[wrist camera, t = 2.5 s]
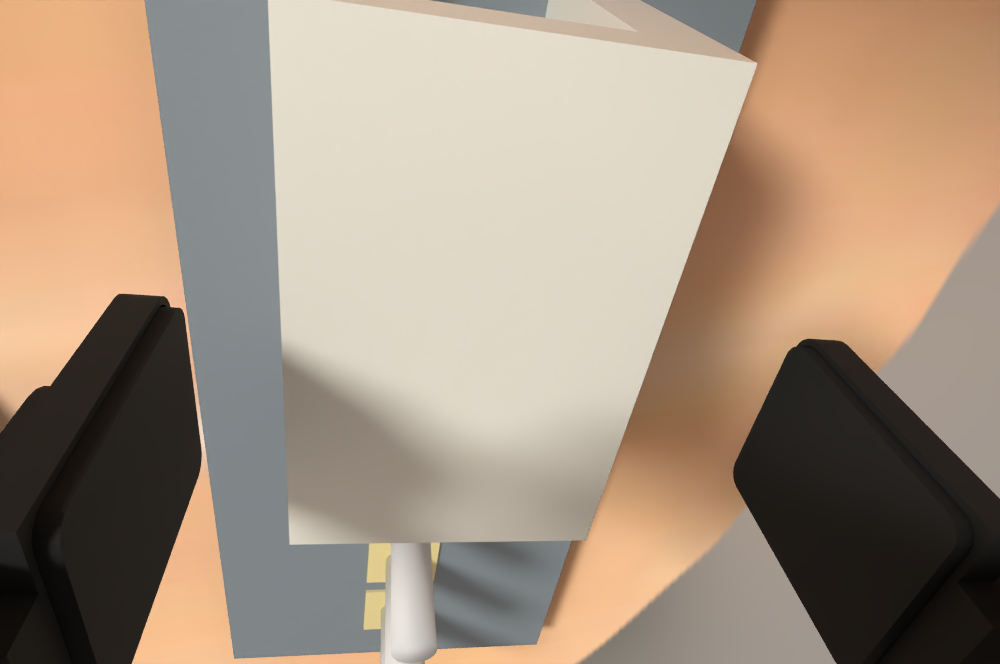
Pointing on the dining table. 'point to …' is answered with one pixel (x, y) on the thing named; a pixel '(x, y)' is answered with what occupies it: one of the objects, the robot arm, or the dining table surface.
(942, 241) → the dining table surface
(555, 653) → the dining table surface
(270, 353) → the header board
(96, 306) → the dining table surface
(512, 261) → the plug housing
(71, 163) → the dining table surface
